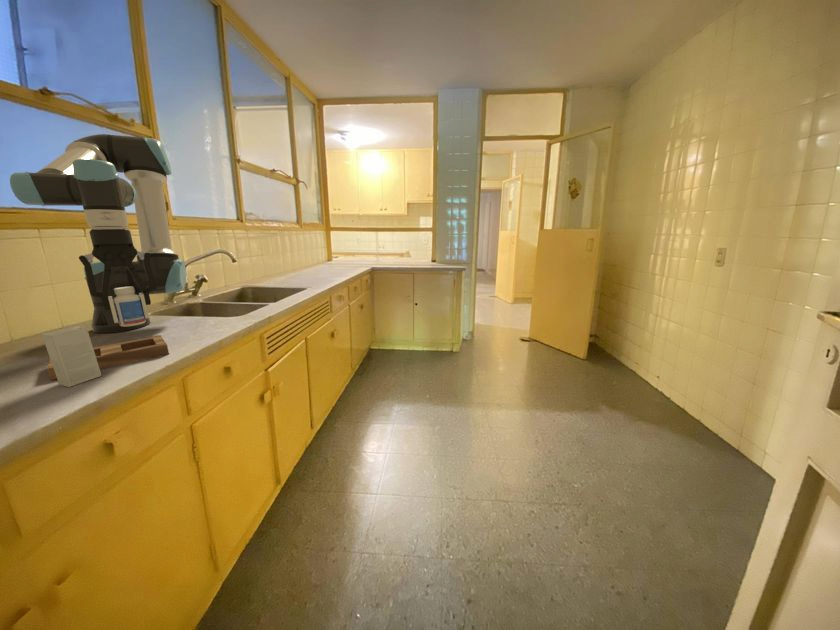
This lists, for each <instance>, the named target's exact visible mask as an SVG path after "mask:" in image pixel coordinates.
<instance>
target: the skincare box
mask: <svg viewBox="0 0 840 630" xmlns="http://www.w3.org/2000/svg"><path fill="white" fill-rule="evenodd" d="M41 336H42V339H43V342H44V345H45V349H46V350H47V353H48V356H49V360H50V359H51V362H52V365H53V368H54V371H55V374H56V376H57V383H58V384H59V385H60V386H63V387H67V388H71V387H74V386H77V385H78V384H82V383H85V382H88V381H91V380H94V379H97V378H99V377H102V373H101V369H99V365H98V362H97V359H96V356H95V352H94V349H93V348H94V345H93V343H92V340H91V336H90V334H89V329H88V327H85V326H79V325H75V326H70V327H66V328H62V329H61V328H60V329H56V330H52V331H48V332H42V333H41Z"/></svg>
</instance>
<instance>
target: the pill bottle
mask: <svg viewBox="0 0 840 630" xmlns="http://www.w3.org/2000/svg"><path fill="white" fill-rule="evenodd" d="M134 292H135V289H134V287H120V288H115V289H114V293H115V294H116V295H117V296H116V297H115V298H114V299H113V302H114V306H115V310H116V314H117V318H118V322H119V325H120V326H122V327H128V326H135V325H140V324H143V323H145V322H146V320H145V316H144V312H143V307H142V303H141V299H140V296H139V295H135V294H134Z"/></svg>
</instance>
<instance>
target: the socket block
mask: <svg viewBox="0 0 840 630" xmlns="http://www.w3.org/2000/svg"><path fill="white" fill-rule="evenodd" d="M93 349H94V352H95V356H96V359H97V362H98V365H99V369H100V370H103V369H106V368H112V367H116V366H120V365H126V364H130V363H135V362H139V361H143V360H148V359H152V358H153V359H154V358H158V357H162V356H166V355H170V351H169V347H168V344H167V342H166V341H165V340H164V339H163V337H162V335H155V336H150V337H149V336H148V337H145V338H144V337H142V338H139V339H135V340H134V339H133V340H129V341H123V342H118V343H117V342H116V343H112V344H106V345H101V346H96V347H93ZM46 370H47V373H48V376H49V379H50V381H52V380H53V381H54V380H56V379H57V376H56V374H55V371H54V368H53V365H52V362H51V359H50V358H49V360H48V365H47V368H46ZM57 380H58V379H57Z"/></svg>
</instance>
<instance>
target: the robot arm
mask: <svg viewBox="0 0 840 630" xmlns="http://www.w3.org/2000/svg"><path fill="white" fill-rule="evenodd" d="M118 173H122V174H124V177H125V178H126V179H127V180H125V179H124V178H122V177H119V174H118ZM172 173H173V172H172V167H171V165H170V161H169V158H168V155H167V152H166V150H165V147H164V146H163V144H162V142H161V141H160V140H158V139H156V138H151V137H145V136H132V135H117V134H109V133H106V134H105V133H103V134H102V133H99V134H93V135H88V136H84V137H81V138H78V139H76V140H74V141H72V142H70V143H69V144H68V145H66V147H65V150H64V153H63V154H61V155H59V157H57V158H56V159H53V160H52V161H51V162H49V163H48V164H47V165H45V166H43V167H42V168H41V169H40V170H38V171H37V172H29V171H25V172H13V173H12V174H11V175H10V177H9V185H10V188H11V191H12V192H13V194H14V196H15V197H16V199H17V200H19V202H21V203H23V204H24V205H25V204H26V205H28V206H29V205H30V206H42V207H46V206H48V207H49V206H56V207H59V206H60V207H61V206H62V207H63V206H64V207H65V206H66V207H68V206H69V207H70V206H71V207H72V206H74V207H75V206H76V207H77V206H78V207H79V206H81V207H82V209H83V213H84V216H85V220H86V225H87V227H89V228H91V229H90V230H89V231H88V232H89V236H90V240H91V243H92V247H93V248H92V251H91V253H88V254H85V255H79V257H78V259H79V261H80V262H81V264H82V265H83V271H84V279H85V280H86V284H87V287H88V292H89V294H90V298H91V301H92V302H91V303H92V304H93V305H92V306H93V314H92V320H91V328H92V332H94V333H98V334H110V333H118V332H121V333H122V332H126V331H131V330H135V329H136V330H137V329H139V328H142V327H146V326H148V325H149V324H150V323H151V319H150V315H149V312H148V308H147V306H150V305H151V303H152V301H151V297H150V295H159V294H171V293H179V292H182V291H183V290H184V289H185V287H186V283H187V281H186V280H187V268H186V263H185V261H184V259H181V258H179V255H178V253H177V252H175V251H173V246H172V239H171V232H170V225H169V219H168V212H167V206H166V205H167V204H166V199H165V192H164V184H165V183H167V181H168V176H172ZM128 180H129V181H130V182H131V183H130V182H129V181H128ZM132 205H134V209H135V215H136V222H137V223H136V224H137V229H138V235H139V242H140V249H141V250H140V251H139V250H138V249H137V248H136V247H135V246H134V242H133V237H132V233H131V230H129V229H127V228H128V227H130V225H129V221H128V217H127V211H126V207H130V206H132ZM94 258H95V259H97V260H98V261H94V260H93V259H94ZM135 258H136V260H135V261H134V259H135ZM120 287H134V289H135V292H134V294H135V295H138V296H139V297H140V299H141V303H142V307H143V312H144V316H145V320H146V322H145V323H143V324H140V325H135V326H128V327H122V326H120V325H119V322H118V318H117V314H116V310H115V306H114V302H113V299H114V298H115V297H116V296H117V295H116V294H115V293H114V289H115V288H120Z"/></svg>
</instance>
